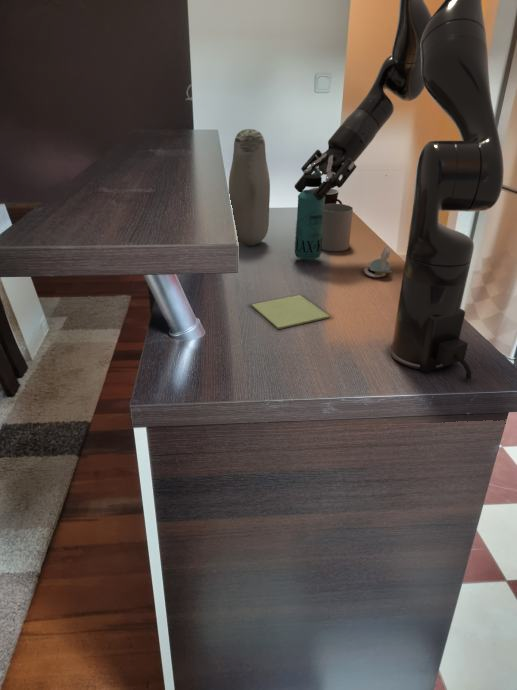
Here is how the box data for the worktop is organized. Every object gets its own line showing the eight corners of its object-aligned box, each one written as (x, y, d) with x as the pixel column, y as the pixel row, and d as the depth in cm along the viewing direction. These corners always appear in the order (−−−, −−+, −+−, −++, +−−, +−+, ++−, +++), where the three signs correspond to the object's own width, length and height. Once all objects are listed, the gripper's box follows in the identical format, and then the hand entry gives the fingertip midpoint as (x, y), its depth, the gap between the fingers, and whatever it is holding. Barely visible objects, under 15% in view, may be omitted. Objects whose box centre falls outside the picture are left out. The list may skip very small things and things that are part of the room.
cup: (348, 252, 130) (352, 212, 125) (316, 250, 131) (318, 211, 126) (348, 242, 137) (352, 204, 132) (318, 240, 138) (320, 202, 133)
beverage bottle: (288, 260, 124) (291, 175, 115) (307, 254, 128) (312, 171, 118) (307, 267, 120) (312, 179, 110) (326, 261, 124) (333, 176, 114)
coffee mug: (302, 222, 154) (304, 188, 149) (330, 220, 155) (333, 187, 150) (313, 233, 144) (315, 197, 139) (343, 232, 145) (346, 196, 140)
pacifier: (365, 280, 114) (393, 280, 114) (368, 252, 111) (396, 252, 111) (362, 268, 120) (388, 268, 120) (364, 242, 117) (390, 242, 117)
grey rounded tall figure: (224, 240, 137) (222, 127, 124) (259, 236, 141) (260, 126, 127) (238, 251, 130) (236, 132, 116) (274, 247, 133) (277, 130, 119)
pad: (329, 317, 97) (329, 315, 97) (278, 329, 93) (278, 327, 92) (299, 296, 105) (299, 294, 105) (251, 306, 101) (251, 304, 101)
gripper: (326, 121, 118) (281, 176, 119) (364, 127, 107) (313, 189, 108) (343, 144, 122) (300, 197, 123) (381, 153, 111) (333, 211, 112)
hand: (306, 193), depth 116 cm, fingers open, 8 cm apart
